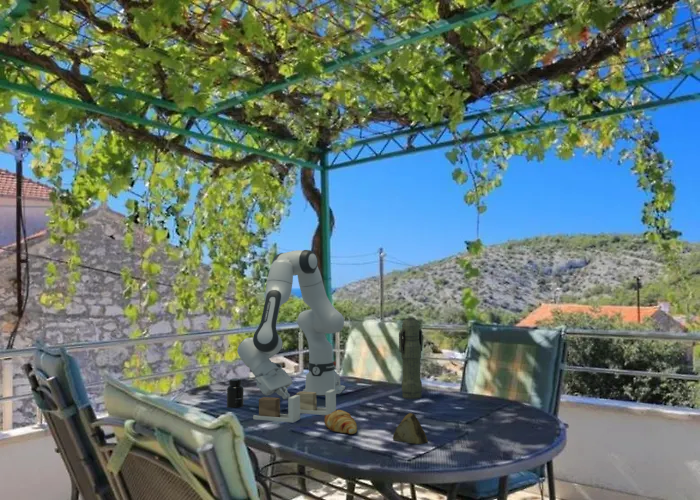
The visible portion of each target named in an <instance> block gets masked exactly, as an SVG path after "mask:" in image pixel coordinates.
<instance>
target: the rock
mask: <svg viewBox="0 0 700 500" xmlns="http://www.w3.org/2000/svg"><path fill="white" fill-rule="evenodd" d="M392 440H393V441H396V442H402V443H408V444H416V445H422V444H426V442H427V443H429V441H428V437H427V435H426V432H425V430H424V429H423V426H422V424H421V423H420V421H419V420H418V417H416V415H415V413H411V412H409V413H408V414H406V415H405V416H404V417H403V419H402V420H400V423H399V424H398V425H397V427H396V428H395V431H394V433H393V435H392Z"/></svg>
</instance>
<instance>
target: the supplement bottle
mask: <svg viewBox="0 0 700 500" xmlns="http://www.w3.org/2000/svg"><path fill="white" fill-rule="evenodd" d="M243 406H244V386H243V385H242V379H241V378H231V379H229V384H228V387H226V408H227V409H229V408H231V409H236V408H243Z"/></svg>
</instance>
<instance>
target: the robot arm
mask: <svg viewBox="0 0 700 500" xmlns="http://www.w3.org/2000/svg"><path fill="white" fill-rule="evenodd" d="M318 261H319V260H318V256H317V254H316V253H315V252H314V251H313V250H310V249H303V250H302V249H301V250H297V249H296V250H291V251H286V252H281V253H277V254H276V255H275V256H274V257H273V259H272V261H271V266H270V267H269V271H268V275H267V278H266V279H267V280H266V285H265V300H264V304H263V310H262V315H261V319H260V323H259V326H258V328H256V330H255V332H254V334H253V337H246V338H244V339H243V340H242V341H241V342H240V343H239V345H238V347H237V351H236V352H237V355H238V356H239V358H240V360H241V361H242V362H243V364H244V365H245V366H246V367H248V369H249V370H251V374H252V375H253V376H254V380H255V384H256V386H257V388H259V390H260V392H261V393H262V394H263V395H264V396H265V397H268V396H270V395H272V394H277V395H278V396H280V397H281V398H282V399H283V400H288V398H290V397H291V394H290V393H289V392H288V388H290V386H291V385H292V384H293V383H294V382H293V379H292V378H291V377H290V375H289V374H288V372H286V370H285V369H283V365H281V363H276V362H274V361H272V360H271V358H272V357H274V356H276V355H277V354H279V353H280V352H281V350H282V348H283V340H282V337H280V335H279V334H278V332H277V322H278V317H279V314H280V313H279V312H280V308H281V307H282V305H284V304H285V303H287V302H288V301H289V299H290V297H291V293H292V289H293V284H294V283H293V281H294V276H297V281H298V287H299V288H300V289H299V290H300V293H301V297H302V301H303V302H304V303H305V304H306V305H307V306H308V307H309V308H310V309H306V310H303V311H301V312H300V313H299V314H298V317H297V326H298V327H299V329H300V330H301V331H302V332H303V333H304V336H305V338H306V341H307V345H308V354H309V355H308V356H309V357H308V358H309V359H308V360H309V362H308V366H307V367H308V368H307V369H308V372H307V373H306V376H305V387H304V388H303V389H302V391H303V392H316V396H325V392H327V391H329V390H331V389H333V390H336V395H340V394H342V392H343V391H344V390H345V389H346V386H345V385H341V376H340V375H339V374H338V373H337V371H336V370H335V367H336V366H337V362H336V361H333V359H334V355H333V345H332V343H331V342H330V341H329V340H328V338H327V337H326V334H328V335H329V334H336V333H339V332H341V331H343V328H344V325H345V318H344V315H343V314H342V313H341V312H339V311H338V310H337V309H336V308H335V307H334V306H333V304H332V302H331V301H330V299H329V297H328V295H327V292H326V288H325V285H324V282H323V277H322V274H321V271H320V269H319V267H318V264H319V263H318Z"/></svg>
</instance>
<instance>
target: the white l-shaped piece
mask: <svg viewBox="0 0 700 500" xmlns="http://www.w3.org/2000/svg"><path fill="white" fill-rule="evenodd" d="M324 397H325V407H317V411H315V410H301V409H300V414H304V415H305V414H306V415H318V416H319V415H320V416H325V415H328V414H331V413H332V412H334V411H336V410H337V394H336V390H333V389H331V390H329V391H327V392H325V395H324Z"/></svg>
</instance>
